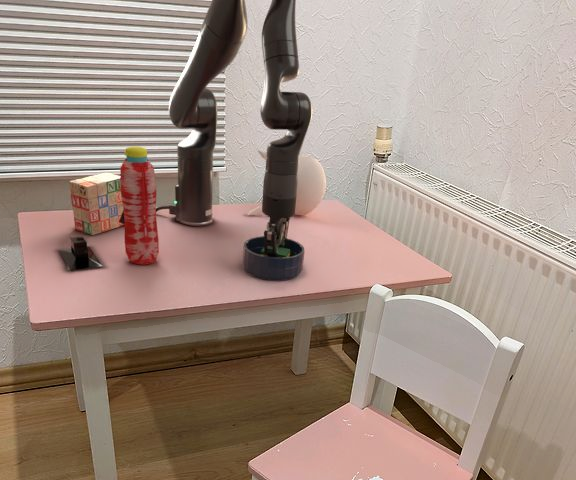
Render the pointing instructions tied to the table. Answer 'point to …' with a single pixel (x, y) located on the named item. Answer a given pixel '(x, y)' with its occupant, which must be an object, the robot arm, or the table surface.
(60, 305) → the table surface
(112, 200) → the stack of blocks
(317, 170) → the stuffed toy
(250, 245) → the bowl
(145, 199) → the water bottle
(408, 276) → the table surface
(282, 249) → the sponge
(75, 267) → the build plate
